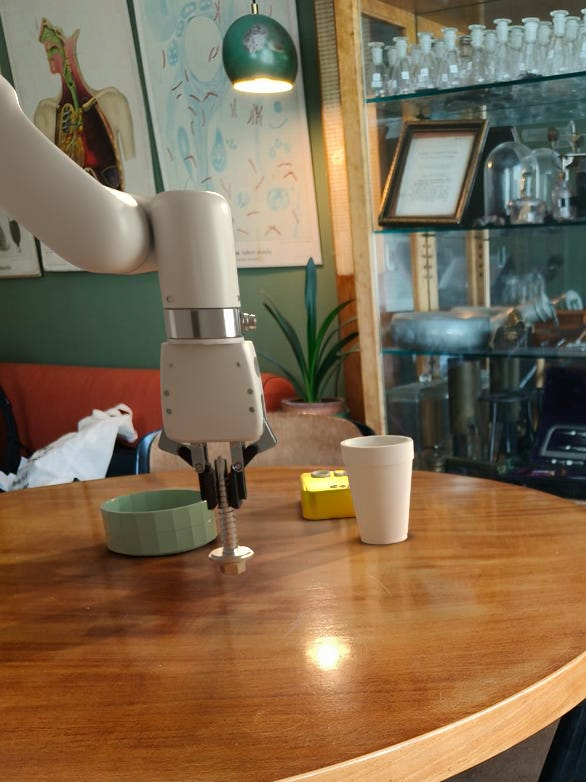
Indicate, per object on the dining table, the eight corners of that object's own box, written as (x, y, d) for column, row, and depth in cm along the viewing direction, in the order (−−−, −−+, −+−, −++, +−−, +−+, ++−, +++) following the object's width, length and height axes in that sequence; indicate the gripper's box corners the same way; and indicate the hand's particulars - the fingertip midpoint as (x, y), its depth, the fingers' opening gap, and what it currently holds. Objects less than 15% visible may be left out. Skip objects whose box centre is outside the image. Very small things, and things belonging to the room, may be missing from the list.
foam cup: (360, 551, 114) (351, 450, 109) (340, 534, 122) (331, 439, 117) (428, 541, 118) (423, 442, 113) (405, 525, 125) (399, 433, 121)
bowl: (95, 561, 114) (86, 515, 111) (124, 533, 127) (116, 491, 124) (207, 554, 115) (200, 509, 113) (225, 527, 128) (219, 486, 126)
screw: (201, 575, 98) (228, 563, 102) (238, 580, 96) (263, 568, 100) (186, 457, 93) (215, 450, 97) (224, 460, 91) (252, 452, 95)
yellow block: (303, 521, 130) (299, 489, 128) (301, 499, 143) (297, 470, 141) (404, 513, 132) (402, 481, 130) (393, 492, 146) (391, 463, 144)
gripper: (287, 325, 93) (302, 497, 100) (133, 327, 92) (158, 501, 99) (280, 328, 87) (296, 512, 93) (113, 330, 85) (142, 517, 92)
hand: (225, 505), depth 96 cm, fingers closed on screw, 2 cm apart
